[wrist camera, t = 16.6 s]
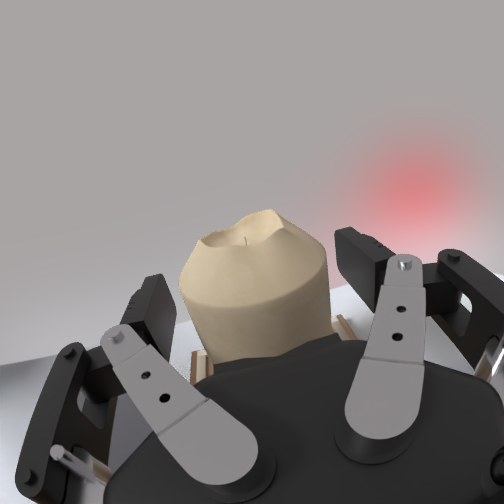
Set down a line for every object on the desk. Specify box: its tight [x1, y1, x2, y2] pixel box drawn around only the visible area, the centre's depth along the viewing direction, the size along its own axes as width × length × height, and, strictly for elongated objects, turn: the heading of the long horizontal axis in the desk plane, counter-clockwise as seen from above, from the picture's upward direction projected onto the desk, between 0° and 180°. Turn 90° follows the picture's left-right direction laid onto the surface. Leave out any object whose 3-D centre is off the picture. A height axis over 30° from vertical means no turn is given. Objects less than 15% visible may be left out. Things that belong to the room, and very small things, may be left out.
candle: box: [178, 209, 332, 366], centre depth 12 cm, size 6×6×10 cm
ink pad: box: [77, 391, 153, 475], centre depth 13 cm, size 9×9×1 cm
